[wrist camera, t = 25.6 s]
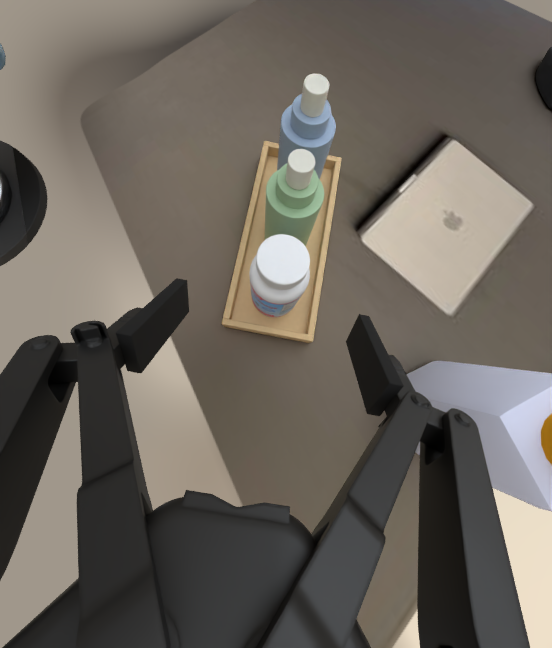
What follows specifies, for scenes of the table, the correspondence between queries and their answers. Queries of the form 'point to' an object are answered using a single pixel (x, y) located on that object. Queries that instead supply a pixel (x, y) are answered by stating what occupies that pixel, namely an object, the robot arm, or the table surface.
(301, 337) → the tray
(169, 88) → the table surface
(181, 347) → the table surface
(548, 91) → the computer mouse
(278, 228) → the green bottle
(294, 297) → the pill bottle
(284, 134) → the blue-grey bottle
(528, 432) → the soap bottle
